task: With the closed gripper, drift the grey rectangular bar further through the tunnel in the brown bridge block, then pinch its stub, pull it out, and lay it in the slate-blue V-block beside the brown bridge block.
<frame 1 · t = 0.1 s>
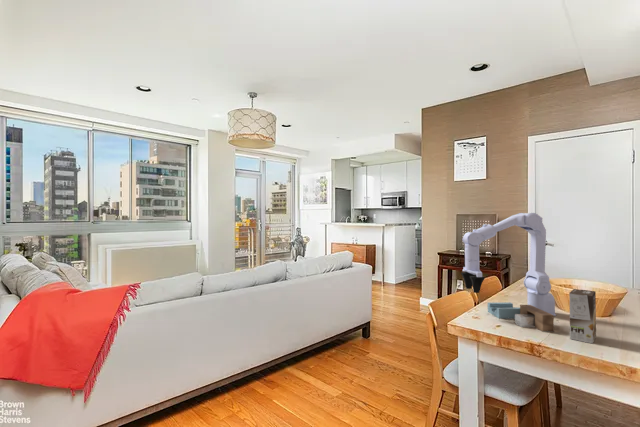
hand: (472, 290, 141), 10 cm above the table, tool pointing down, fingers open, 7 cm apart
coffee box: (583, 338, 113), on the table
grey rectangular bar: (533, 320, 126), point 2 cm above the table
brown bridge block: (536, 325, 126), on the table
v block: (505, 314, 139), on the table
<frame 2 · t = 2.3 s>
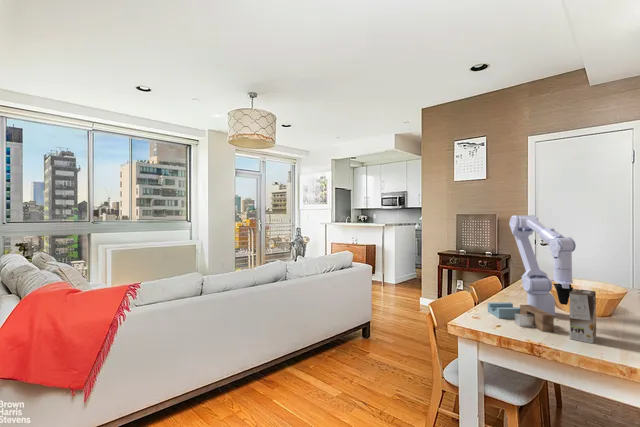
hand: (563, 303, 126), 8 cm above the table, tool pointing down, fingers closed
nothing on the table moved.
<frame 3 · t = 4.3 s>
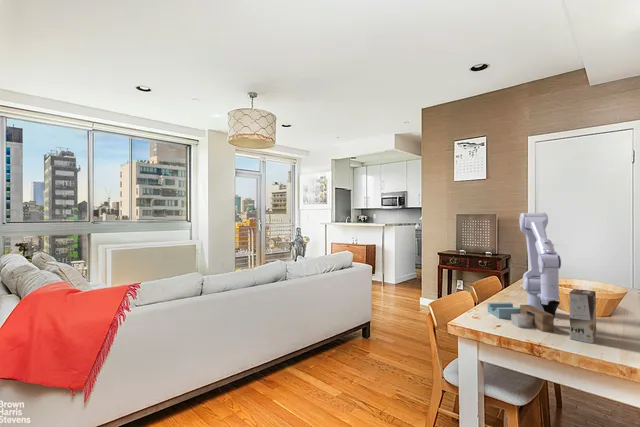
hand: (550, 319, 126), 2 cm above the table, tool pointing down, fingers closed
grey rectangular bar: (529, 320, 126), point 2 cm above the table
everything else where it was.
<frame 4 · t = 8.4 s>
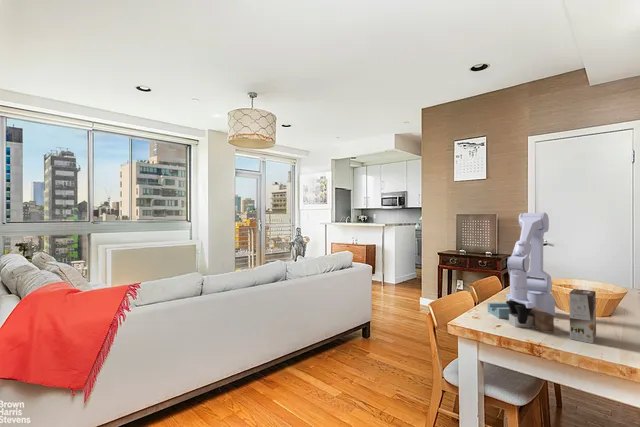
hand: (519, 321, 126), 1 cm above the table, tool pointing down, fingers closed on grey rectangular bar, 4 cm apart
grey rectangular bar: (527, 320, 126), point 2 cm above the table, touching gripper
everything else where it was.
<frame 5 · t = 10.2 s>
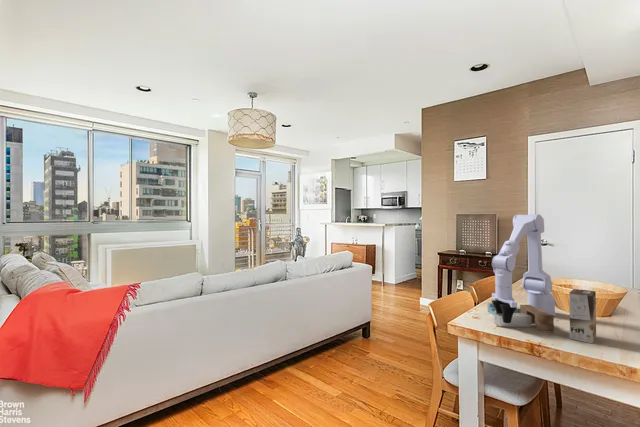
hand: (504, 320, 126), 2 cm above the table, tool pointing down, fingers closed on grey rectangular bar, 4 cm apart
grey rectangular bar: (512, 319, 126), point 2 cm above the table, touching gripper
everything else where it was.
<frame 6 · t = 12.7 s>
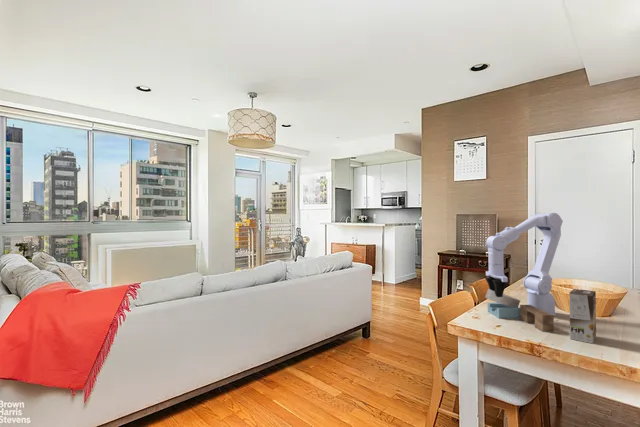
hand: (496, 295, 139), 8 cm above the table, tool pointing down, fingers closed on grey rectangular bar, 4 cm apart
grey rectangular bar: (502, 298, 139), point 7 cm above the table, tilted 20°, touching gripper
everything else where it was.
when the fingers open (5 cm above the table, at t = 13.8 s): grey rectangular bar stays where it is, resting on v block.
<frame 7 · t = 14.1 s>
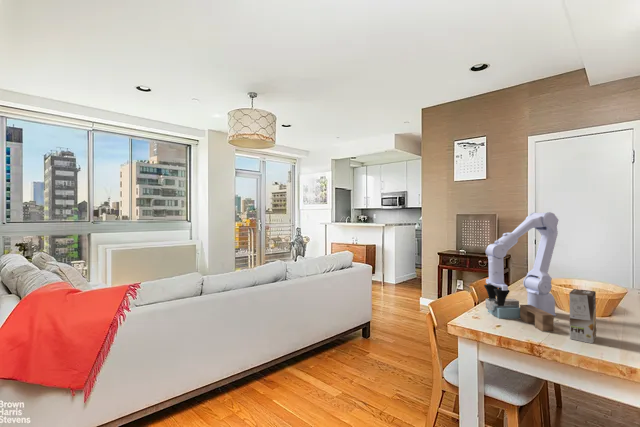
hand: (496, 303, 139), 5 cm above the table, tool pointing down, fingers open, 6 cm apart
grey rectangular bar: (502, 304, 139), point 4 cm above the table, touching v block
everything else where it was.
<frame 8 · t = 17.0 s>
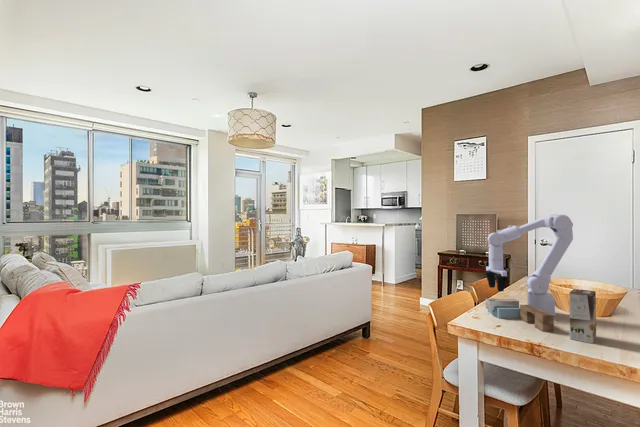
hand: (496, 289, 146), 9 cm above the table, tool pointing down, fingers open, 7 cm apart
nothing on the table moved.
at the end: grey rectangular bar 1.2 cm off-centre on the v block, point 4.5 cm above the v block's base; grey rectangular bar touching v block; the gripper is holding nothing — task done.
